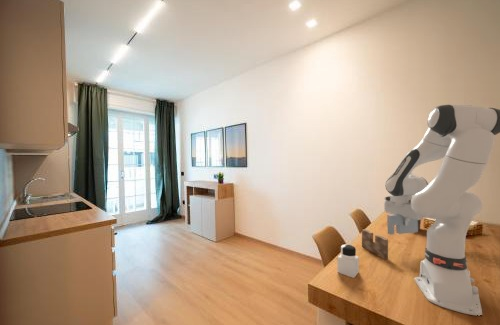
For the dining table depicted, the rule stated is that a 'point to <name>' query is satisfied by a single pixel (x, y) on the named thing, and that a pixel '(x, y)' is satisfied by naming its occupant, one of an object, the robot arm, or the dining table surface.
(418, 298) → the dining table surface
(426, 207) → the robot arm
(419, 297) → the dining table surface
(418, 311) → the dining table surface
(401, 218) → the light blue notched panel
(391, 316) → the dining table surface
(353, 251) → the medicine bottle
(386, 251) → the walnut board
